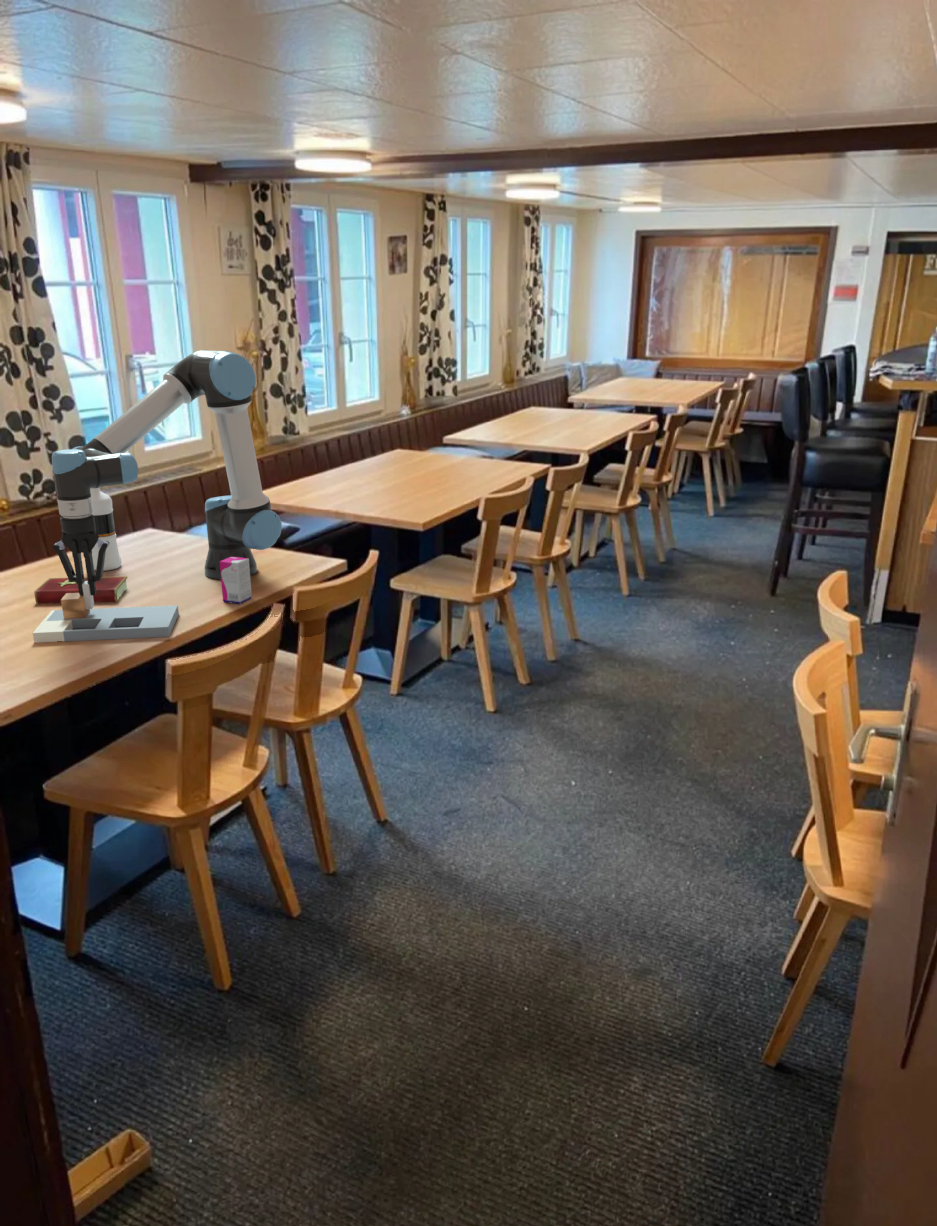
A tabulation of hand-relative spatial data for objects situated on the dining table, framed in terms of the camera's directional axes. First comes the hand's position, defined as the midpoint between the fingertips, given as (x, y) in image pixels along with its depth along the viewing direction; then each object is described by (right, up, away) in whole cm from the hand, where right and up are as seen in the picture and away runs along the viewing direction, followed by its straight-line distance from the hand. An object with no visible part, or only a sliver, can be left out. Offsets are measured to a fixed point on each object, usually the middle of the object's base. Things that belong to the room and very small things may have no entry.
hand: (90, 607), depth 218 cm
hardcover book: (-11, +3, +22) cm, 25 cm away
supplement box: (+32, +2, +20) cm, 38 cm away
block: (-3, -2, 0) cm, 4 cm away
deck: (+6, -5, -1) cm, 8 cm away
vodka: (-16, +12, +47) cm, 51 cm away
